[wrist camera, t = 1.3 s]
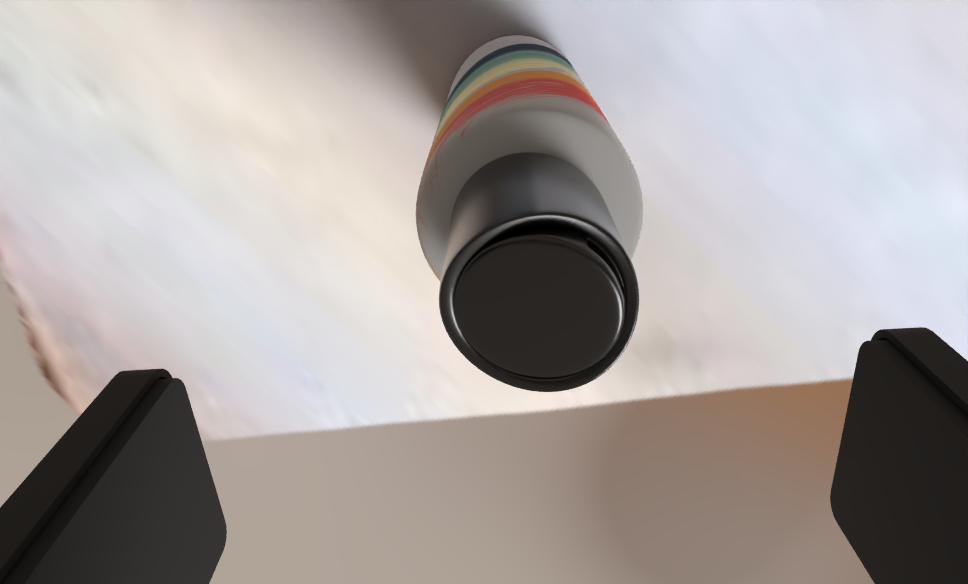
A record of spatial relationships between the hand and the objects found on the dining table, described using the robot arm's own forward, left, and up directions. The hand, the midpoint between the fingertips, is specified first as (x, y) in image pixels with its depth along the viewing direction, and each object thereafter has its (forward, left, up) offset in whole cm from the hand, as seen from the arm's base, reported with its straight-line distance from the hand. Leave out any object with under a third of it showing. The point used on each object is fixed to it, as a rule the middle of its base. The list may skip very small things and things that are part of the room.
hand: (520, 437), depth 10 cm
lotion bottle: (0, 0, -24) cm, 23 cm away
